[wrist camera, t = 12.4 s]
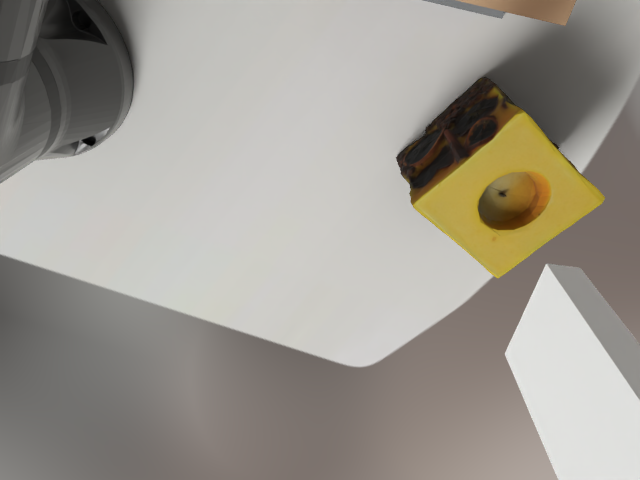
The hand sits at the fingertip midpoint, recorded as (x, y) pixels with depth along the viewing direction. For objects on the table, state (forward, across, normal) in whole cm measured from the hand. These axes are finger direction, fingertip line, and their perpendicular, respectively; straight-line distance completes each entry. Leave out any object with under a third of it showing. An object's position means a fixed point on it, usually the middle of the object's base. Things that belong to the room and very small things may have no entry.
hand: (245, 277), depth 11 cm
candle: (+32, +16, -7) cm, 37 cm away
